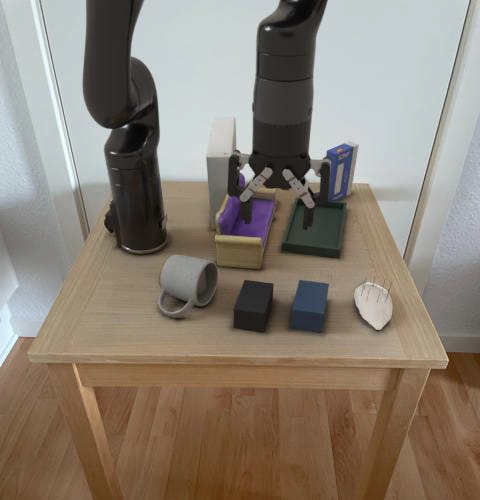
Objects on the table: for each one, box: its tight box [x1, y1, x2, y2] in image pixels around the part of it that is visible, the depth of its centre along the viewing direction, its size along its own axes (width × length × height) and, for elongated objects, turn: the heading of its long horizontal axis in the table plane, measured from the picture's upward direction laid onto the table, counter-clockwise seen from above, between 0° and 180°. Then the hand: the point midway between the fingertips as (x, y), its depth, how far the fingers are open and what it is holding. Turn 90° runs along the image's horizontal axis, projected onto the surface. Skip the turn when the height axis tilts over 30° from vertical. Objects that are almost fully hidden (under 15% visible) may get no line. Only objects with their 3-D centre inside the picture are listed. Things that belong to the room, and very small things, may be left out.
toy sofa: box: [214, 172, 277, 270], centre depth 96 cm, size 21×9×10 cm, turn 169°
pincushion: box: [353, 277, 394, 331], centre depth 81 cm, size 12×6×6 cm, turn 177°
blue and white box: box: [325, 140, 360, 202], centre depth 109 cm, size 8×3×12 cm, turn 133°
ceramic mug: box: [157, 254, 219, 319], centre depth 82 cm, size 11×8×8 cm
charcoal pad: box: [233, 279, 275, 333], centre depth 81 cm, size 8×5×4 cm, turn 167°
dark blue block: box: [290, 279, 330, 333], centre depth 81 cm, size 8×5×4 cm, turn 167°
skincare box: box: [205, 116, 237, 230], centre depth 105 cm, size 21×5×16 cm, turn 178°
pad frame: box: [281, 196, 348, 259], centre depth 102 cm, size 19×11×2 cm, turn 167°
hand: (276, 224), depth 73 cm, fingers open, 8 cm apart
